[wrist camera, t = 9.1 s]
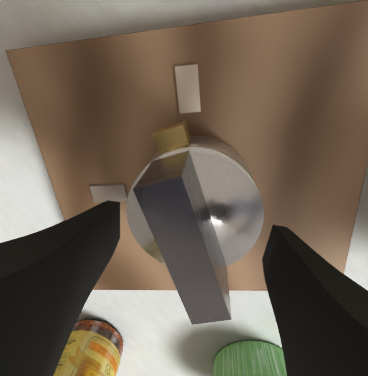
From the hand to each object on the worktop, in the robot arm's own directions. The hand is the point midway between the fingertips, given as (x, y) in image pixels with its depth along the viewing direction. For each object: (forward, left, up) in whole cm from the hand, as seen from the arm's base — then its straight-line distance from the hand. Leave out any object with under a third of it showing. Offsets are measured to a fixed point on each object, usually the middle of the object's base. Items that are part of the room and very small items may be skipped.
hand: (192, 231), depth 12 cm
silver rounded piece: (0, 0, -5) cm, 5 cm away
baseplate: (0, 0, -6) cm, 6 cm away
